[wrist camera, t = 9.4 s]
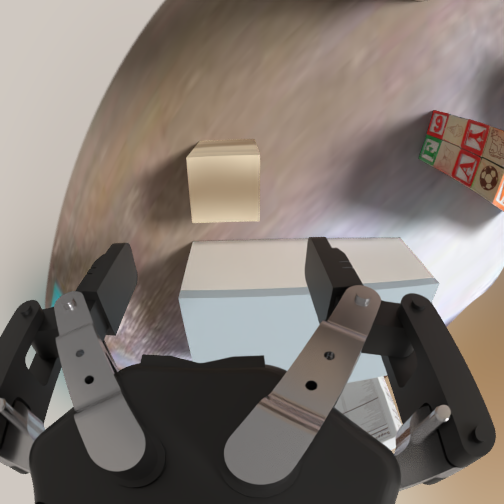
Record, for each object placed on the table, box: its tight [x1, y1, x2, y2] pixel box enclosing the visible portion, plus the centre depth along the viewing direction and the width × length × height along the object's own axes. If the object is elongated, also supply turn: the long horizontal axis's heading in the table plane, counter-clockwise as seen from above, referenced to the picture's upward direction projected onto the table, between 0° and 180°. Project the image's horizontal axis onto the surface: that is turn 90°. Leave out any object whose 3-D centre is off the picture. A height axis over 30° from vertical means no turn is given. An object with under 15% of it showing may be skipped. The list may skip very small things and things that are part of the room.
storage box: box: [181, 238, 434, 291], centre depth 30 cm, size 14×24×8 cm, turn 90°
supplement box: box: [335, 376, 402, 450], centre depth 37 cm, size 10×9×17 cm
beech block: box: [186, 139, 260, 223], centre depth 22 cm, size 5×5×7 cm
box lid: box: [179, 278, 439, 383], centre depth 26 cm, size 14×24×1 cm, turn 90°
